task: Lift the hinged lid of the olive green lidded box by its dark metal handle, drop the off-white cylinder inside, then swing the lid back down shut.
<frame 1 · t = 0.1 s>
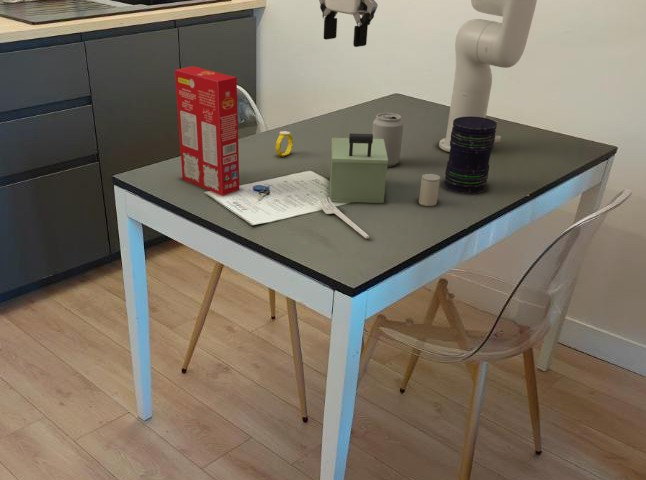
hand: (344, 42, 150), 31 cm above the table, tool pointing down, fingers open, 9 cm apart
can: (384, 163, 180), on the table
dark blue disc stack: (464, 187, 167), on the table
fork: (344, 222, 149), on the table
food packaging: (210, 185, 167), on the table
off-white cylinder: (427, 202, 158), on the table
olive green lidded box: (355, 190, 164), on the table
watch: (284, 156, 184), on the table
box lid: (359, 139, 156), point 12 cm above the table, hinge at 0.0°
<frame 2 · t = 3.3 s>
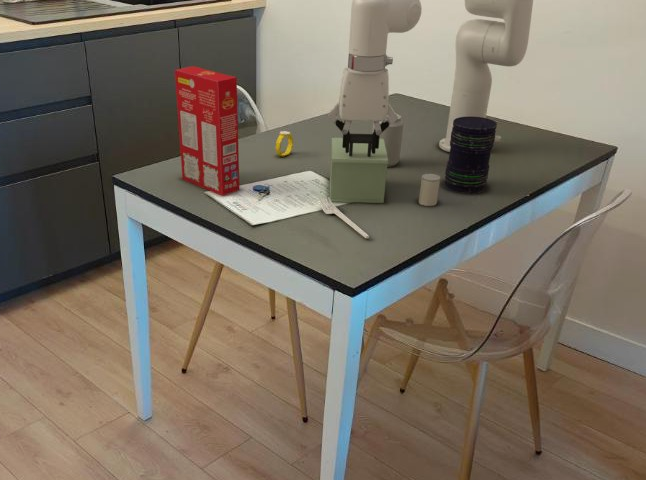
hand: (360, 150, 153), 11 cm above the table, tool pointing down, fingers closed on box lid, 5 cm apart
box lid: (359, 139, 156), point 12 cm above the table, hinge at 0.0°, touching gripper
everything else where it was.
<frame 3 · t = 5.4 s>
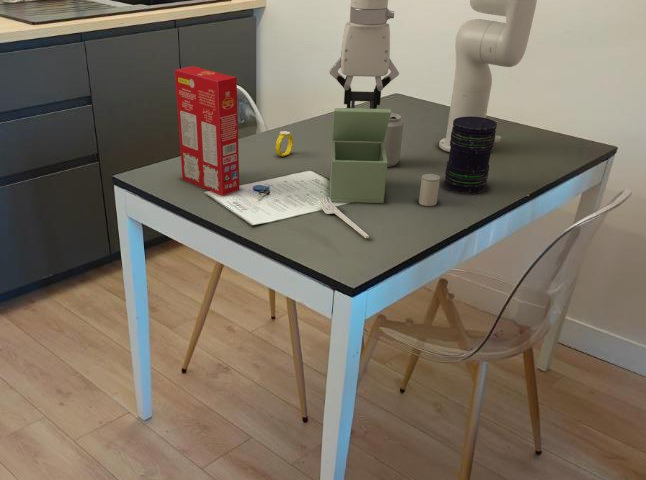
hand: (361, 107, 154), 19 cm above the table, tool pointing down, fingers closed on box lid, 5 cm apart
box lid: (360, 115, 157), point 16 cm above the table, hinge at 41.1°, touching gripper
everything else where it was.
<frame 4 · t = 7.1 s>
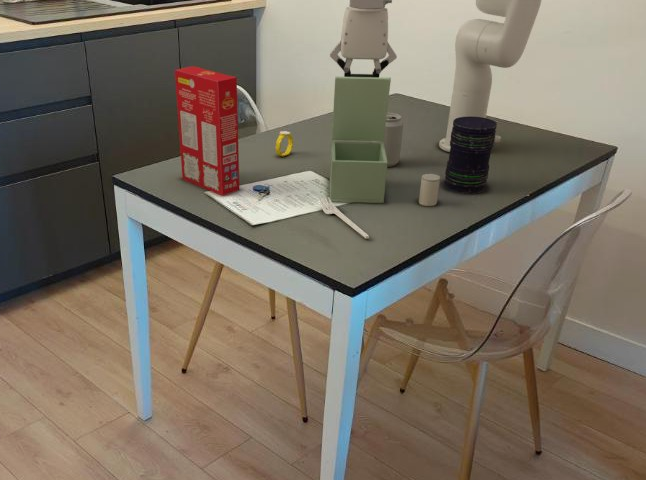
hand: (360, 89, 160), 21 cm above the table, tool pointing down, fingers closed on box lid, 5 cm apart
box lid: (359, 104, 160), point 18 cm above the table, hinge at 77.5°, touching gripper
everything else where it was.
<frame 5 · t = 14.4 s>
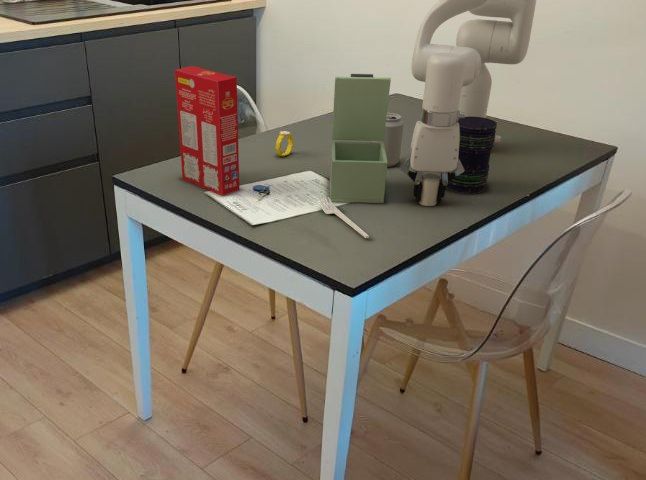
hand: (428, 199, 158), 1 cm above the table, tool pointing down, fingers closed on off-white cylinder, 4 cm apart
off-white cylinder: (427, 202, 158), on the table, touching gripper
box lid: (359, 104, 160), point 18 cm above the table, hinge at 77.4°
everything else where it was.
when the fingers open (8 cm above the table, at t = 21.7 s): off-white cylinder drops 7 cm, resting on olive green lidded box.
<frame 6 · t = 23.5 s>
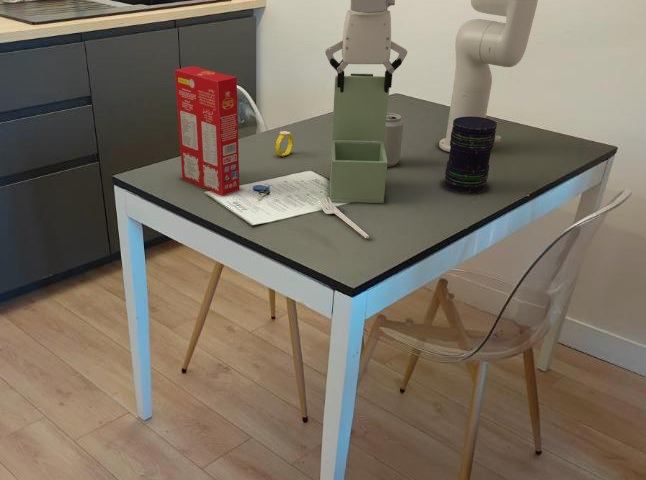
hand: (363, 91, 153), 22 cm above the table, tool pointing down, fingers open, 9 cm apart
off-white cylinder: (356, 189, 162), point 1 cm above the table, touching olive green lidded box
box lid: (359, 104, 160), point 18 cm above the table, hinge at 79.8°
everything else where it was.
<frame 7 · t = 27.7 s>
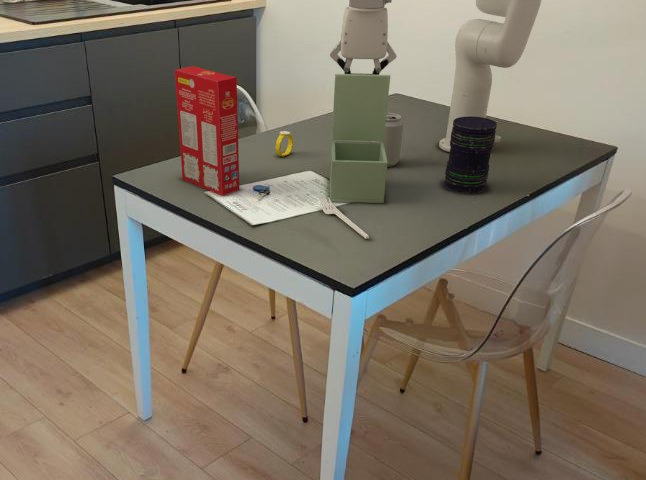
hand: (360, 89, 160), 21 cm above the table, tool pointing down, fingers closed on box lid, 5 cm apart
box lid: (359, 104, 161), point 17 cm above the table, hinge at 83.6°, touching gripper
everything else where it was.
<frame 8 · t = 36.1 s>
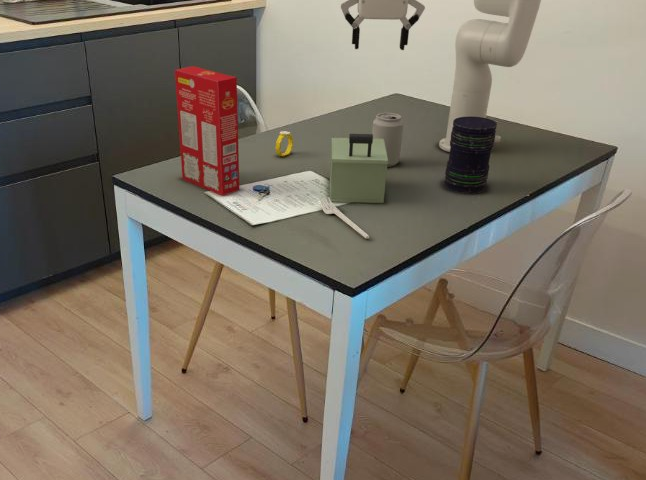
hand: (379, 48, 150), 30 cm above the table, tool pointing down, fingers open, 9 cm apart
box lid: (359, 139, 156), point 12 cm above the table, hinge at -0.2°, touching olive green lidded box
everything else where it was.
at the end: box lid reached +84° during the clip, +0° at the end; off-white cylinder inside the target area in the olive green lidded box (1.5 cm from its centre), point 0.8 cm above the olive green lidded box's base; box lid at +0° (first picture: +0°) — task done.
